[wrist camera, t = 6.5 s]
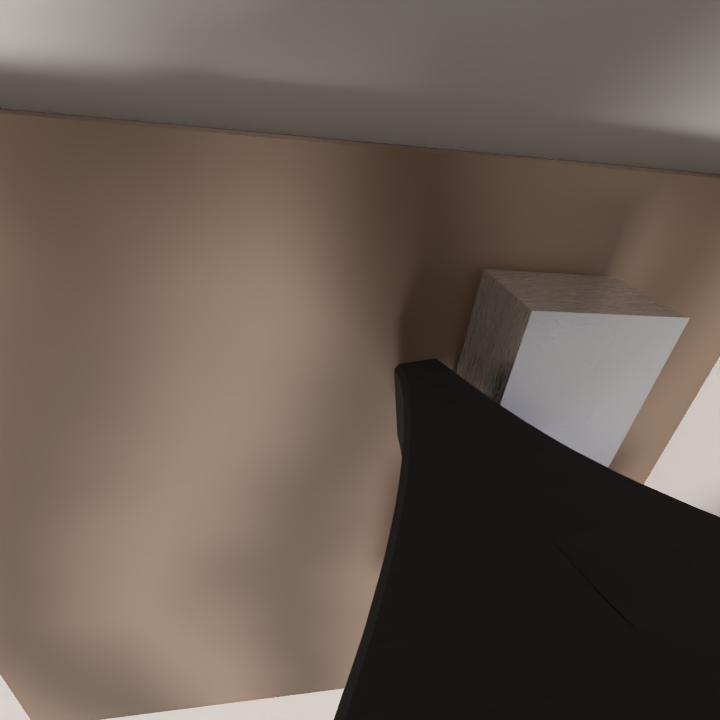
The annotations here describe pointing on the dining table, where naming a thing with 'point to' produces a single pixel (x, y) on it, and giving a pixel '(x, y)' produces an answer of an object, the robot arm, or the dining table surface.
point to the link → (568, 353)
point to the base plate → (262, 381)
